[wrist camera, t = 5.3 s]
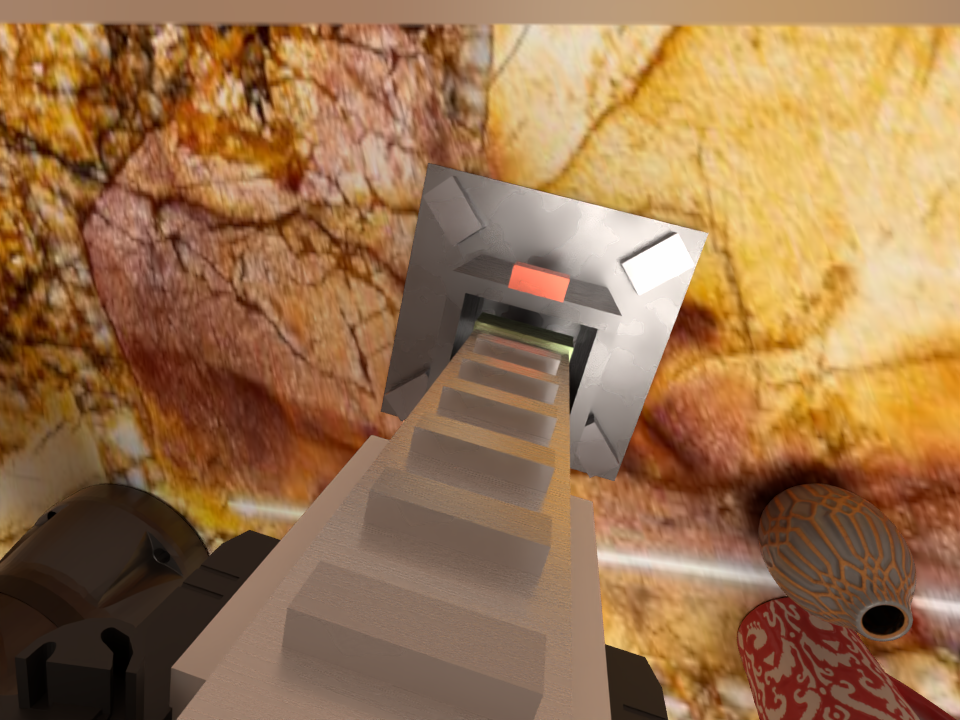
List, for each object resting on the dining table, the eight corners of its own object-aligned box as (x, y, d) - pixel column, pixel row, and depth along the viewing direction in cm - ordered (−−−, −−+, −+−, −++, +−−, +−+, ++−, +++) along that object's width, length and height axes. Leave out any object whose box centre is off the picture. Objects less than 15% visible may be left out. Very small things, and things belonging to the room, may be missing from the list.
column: (458, 394, 25) (-54, 1267, 4) (481, 299, 24) (-149, 970, 3) (551, 421, 25) (465, 1521, 4) (581, 326, 23) (694, 1344, 2)
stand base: (386, 405, 35) (322, 475, 26) (432, 164, 29) (373, 145, 20) (612, 473, 33) (629, 571, 24) (703, 232, 28) (767, 244, 19)
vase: (888, 497, 31) (1007, 604, 22) (818, 577, 33) (902, 700, 25) (785, 447, 31) (865, 535, 23) (722, 530, 33) (774, 638, 25)
